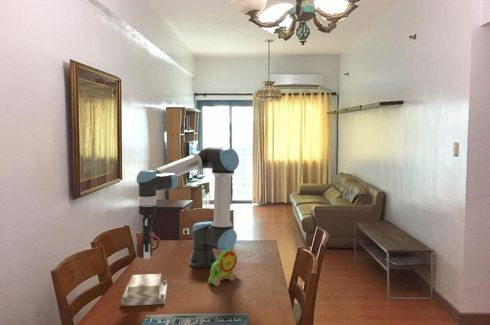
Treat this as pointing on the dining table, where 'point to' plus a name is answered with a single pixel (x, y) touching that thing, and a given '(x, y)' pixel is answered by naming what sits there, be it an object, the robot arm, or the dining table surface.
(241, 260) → the dining table surface
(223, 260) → the toy lion
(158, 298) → the mottled white flat box
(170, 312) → the dining table surface
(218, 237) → the robot arm
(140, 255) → the mug
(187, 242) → the dining table surface
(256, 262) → the dining table surface
